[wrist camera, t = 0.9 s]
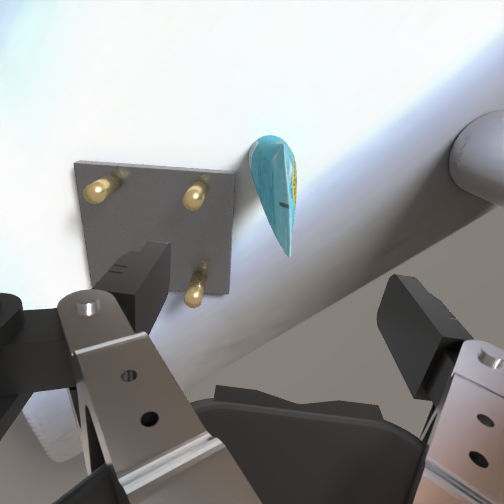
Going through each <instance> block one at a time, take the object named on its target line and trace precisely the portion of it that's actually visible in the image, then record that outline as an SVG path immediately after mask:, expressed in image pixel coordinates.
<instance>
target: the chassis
mask: <svg viewBox="0 0 504 504" xmlns="http://www.w3.org/2000/svg"><path fill="white" fill-rule="evenodd" d="M74 169H75V176H76V182H77V189H78V196H79V202H80V209H81V216H82V222H83V229H84V236H85V242H86V249H87V256H88V262H89V269H90V276H91V283H92V286H93V287H94V285H95V284H96V283H97V282H98V281H99V280H100V279H101V278H102V277H103V275H104V274H105V273H106V272H108V270H109V269H110V268H111V267H112V266H113V264H114V263H115V262H116V261H117V260H118V259H119V258H120V257H121V256H123V255H125V254H127V253H129V252H131V251H133V252H140V250H141V249H142V248H143V247H144V245H145V244H146V243H147V242H148V241H149V240H151V241H159V242H166V243H170V244H171V267H170V285H169V291H178V292H186V295H185V298H184V302H185V304H186V305H187V306H188V307H191V308H196V307H198V306H200V304H201V301H202V297H203V293H212V294H229V289H230V269H231V249H232V228H233V207H234V186H235V171H223V170H209V169H194V168H180V167H165V166H151V165H137V164H122V163H108V162H94V161H77V162H75V163H74Z"/></svg>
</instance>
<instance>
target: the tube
mask: <svg viewBox="0 0 504 504" xmlns="http://www.w3.org/2000/svg"><path fill="white" fill-rule="evenodd" d="M249 165H250V169H251V172H252V176H253V179H254V183H255V186H256V189H257V192H258V195H259V198H260V201H261V203H262V206H263V209H264V211H265V214H266V216H267V219H268V221H269V223H270V225H271V228H272V230H273V232H274V234H275V236H276V238H277V240H278V241H279V243H280V245H281V246H282V248H283V250H284V252H285V254H286V255H287V256H289V257H291V234H292V228H293V221H294V214H295V205H296V185H297V176H296V163H295V158H294V155H293V153H292V151H291V149H290V148H289V146H288V145H287V143H286V142H285V141H284V140H283V139H281V138H279V137H277V136H273V135H269V136H263V137H261V138H259V139H258V140H257V141H255V142H254V144H253V145H252V147H251V149H250V152H249Z"/></svg>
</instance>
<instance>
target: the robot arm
mask: <svg viewBox="0 0 504 504" xmlns="http://www.w3.org/2000/svg"><path fill="white" fill-rule="evenodd" d="M449 170H450V174H451V177H452V179H453V181H454V182H455V183H456V184H457V185H458V186H459V187H460V188H461V189H463V190H465V191H467V192H469V193H471V194H473V195H476V196H478V197H480V198H482V199H484V200H486V201H489V202H491V203H493V204H495V205H498V206H500V207H502V208H504V111H495V112H491V113H488V114H485V115H482V116H481V117H479V118H477V119H475V120H474V121H473V122H471V123H470V124H469V125H468V126H466V128H465V129H464V130H463V131H462V132H461V133H460V134H459V136H458V137H457V139H456V141H455V142H454V145H453V147H452V149H451V152H450V157H449ZM170 267H171V244H170V243H166V242H159V241H151V240H149V241H148V242H147V243H146V244H145V245H144V247H143V248H142V249H141V250H140V252H133V251H131V252H129V253H127V254H125V255H123V256H121V257H120V258H119V259H118V260H117V261H116V262H115V263H114V264H113V266H112V267H111V268H110V269H109V270H108V272H106V273H105V274H104V275H103V277H102V278H101V279H100V280H99V281H98V282H97V283H96V284H95V285H94V287H93V288H92V289H90V290H81V291H77V292H74V293H71V294H69V295H67V296H65V297H64V298H63V299H61V300H60V302H59V303H58V305H57V308H53V309H39V310H23V307H22V302H21V299H20V298H19V297H17V296H15V295H12V294H7V293H0V440H1V439H2V437H3V436H4V434H5V433H6V431H7V430H8V429H9V427H10V426H11V424H12V423H13V421H14V420H15V419H16V417H17V416H18V414H19V413H20V411H21V410H22V409H23V407H24V406H25V404H26V403H27V401H28V400H29V398H30V397H31V396H32V394H33V392H39V391H47V390H54V389H62V388H67V391H68V394H69V398H70V402H71V406H72V409H73V413H74V417H75V420H76V424H77V428H78V431H79V435H80V439H81V443H82V447H83V452H84V458H85V463H86V468H87V473H88V476H87V477H86V478H85V479H83V480H82V481H81V482H80V483H78V484H77V485H76V486H75V487H73V488H72V489H71V490H69V491H68V492H67V493H65V494H64V495H63V496H62V497H60V498H59V499H58V500H57V501H55V502H54V503H53V504H504V350H502V349H500V348H498V347H496V346H494V345H492V344H489V343H487V342H483V341H479V340H474V339H473V337H472V336H471V335H470V334H469V333H468V332H467V330H466V329H465V328H464V327H463V326H462V325H461V323H460V322H459V321H458V320H455V317H454V315H453V314H452V313H451V312H449V310H448V309H447V307H446V306H445V305H444V304H443V303H442V302H441V301H440V300H439V299H437V298H436V297H434V296H433V295H432V294H430V293H429V292H427V290H426V289H425V288H424V287H423V285H422V284H421V283H420V282H419V281H418V280H417V279H416V278H415V277H409V276H402V275H395V274H394V275H392V276H391V277H390V278H389V281H388V283H387V286H386V289H385V292H384V295H383V297H382V300H381V303H380V307H379V309H378V313H377V325H378V328H379V330H380V332H381V334H382V336H383V338H384V340H385V342H386V344H387V346H388V348H389V350H390V352H391V354H392V356H393V358H394V360H395V362H396V364H397V366H398V368H399V370H400V372H401V374H402V376H403V378H404V380H405V382H406V384H407V386H408V388H409V390H410V392H411V394H412V396H413V398H414V399H421V400H429V401H432V403H433V404H432V406H431V408H430V410H429V412H428V415H427V417H426V420H425V422H424V425H423V427H422V430H421V432H420V435H419V437H416V436H414V435H413V434H411V433H410V432H408V431H406V430H405V429H403V428H401V427H399V426H397V425H395V424H393V423H391V422H388V421H386V420H384V419H383V417H382V414H381V411H380V409H379V406H378V405H371V404H363V403H355V402H346V401H329V402H320V403H309V404H296V403H293V402H290V401H287V400H284V399H281V398H278V397H275V396H272V395H269V394H266V393H264V392H260V391H257V390H251V389H244V388H236V387H228V386H219V385H216V389H215V395H214V398H210V399H204V400H199V401H195V402H192V403H189V401H188V400H187V398H186V396H185V395H184V393H183V391H182V390H181V388H180V386H179V385H178V383H177V382H176V380H175V378H174V377H173V375H172V373H171V372H170V370H169V368H168V367H167V365H166V364H165V362H164V360H163V359H162V357H161V355H160V354H159V352H158V350H157V349H156V347H155V346H154V344H153V342H152V341H151V339H150V337H149V334H150V332H151V329H152V327H153V325H154V323H155V321H156V319H157V317H158V315H159V313H160V311H161V309H162V307H163V305H164V302H165V300H166V298H167V295H168V291H169V285H170Z"/></svg>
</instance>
